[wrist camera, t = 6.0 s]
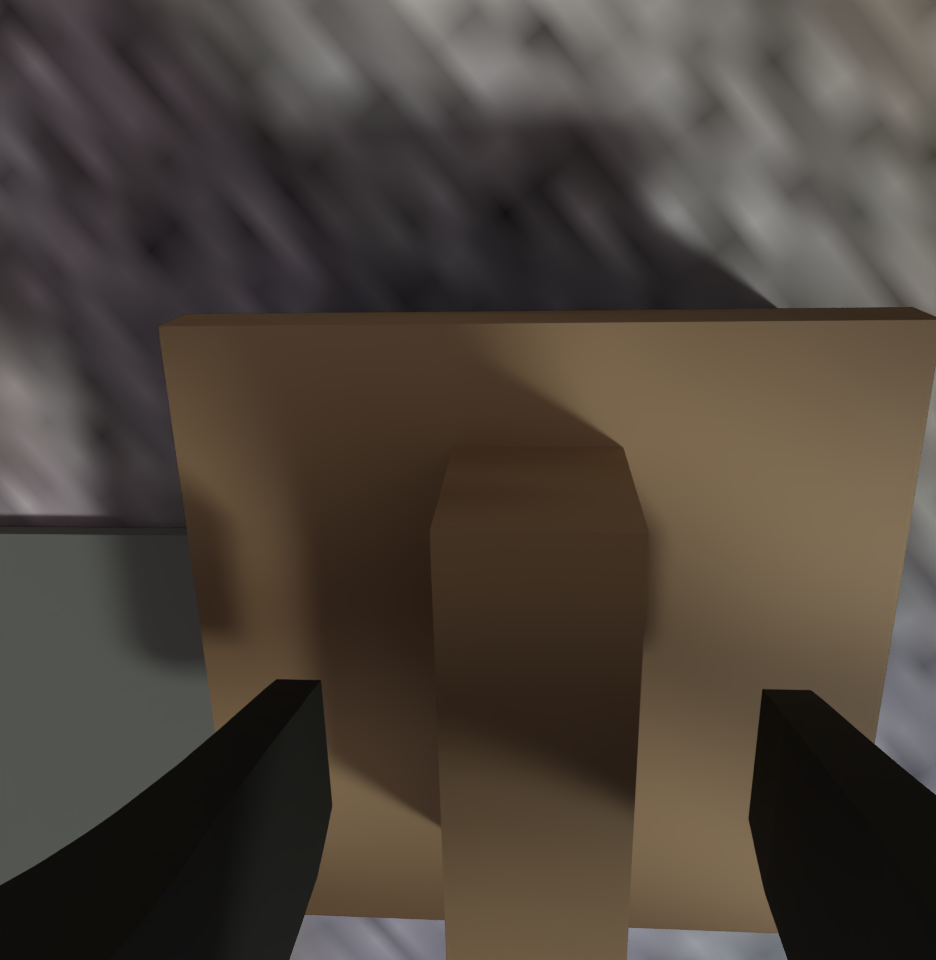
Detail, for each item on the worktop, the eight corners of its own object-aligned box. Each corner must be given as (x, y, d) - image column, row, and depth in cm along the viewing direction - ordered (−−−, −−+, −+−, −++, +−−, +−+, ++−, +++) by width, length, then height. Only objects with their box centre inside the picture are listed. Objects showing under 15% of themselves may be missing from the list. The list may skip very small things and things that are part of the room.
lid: (825, 890, 16) (913, 1112, 12) (256, 869, 17) (177, 1074, 13) (912, 307, 13) (1073, 373, 9) (184, 314, 13) (47, 378, 10)
